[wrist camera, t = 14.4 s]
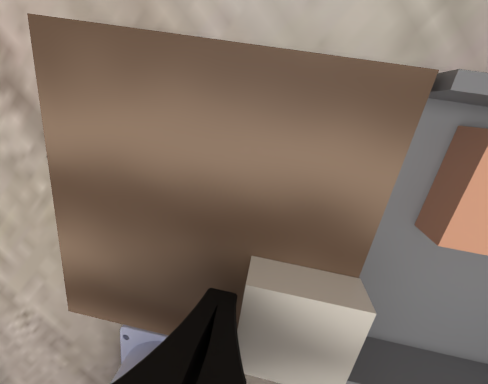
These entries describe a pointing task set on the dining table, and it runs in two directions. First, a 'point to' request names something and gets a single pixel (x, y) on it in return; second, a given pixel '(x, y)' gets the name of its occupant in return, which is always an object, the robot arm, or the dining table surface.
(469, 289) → the box
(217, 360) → the robot arm
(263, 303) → the cream tile
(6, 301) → the dining table surface
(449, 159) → the terracotta tile
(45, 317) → the dining table surface
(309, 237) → the walnut platform
